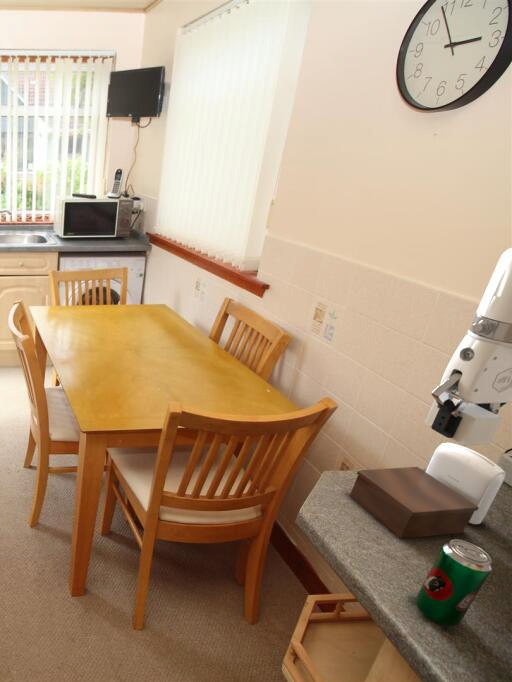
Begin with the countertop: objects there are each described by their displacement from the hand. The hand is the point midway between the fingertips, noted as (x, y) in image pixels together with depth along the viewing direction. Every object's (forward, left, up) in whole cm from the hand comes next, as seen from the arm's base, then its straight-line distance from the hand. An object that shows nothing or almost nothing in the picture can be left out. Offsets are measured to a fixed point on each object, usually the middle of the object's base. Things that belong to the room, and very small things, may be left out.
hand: (456, 431), depth 78 cm
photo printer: (-12, -4, -20) cm, 24 cm away
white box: (0, 0, 0) cm, 0 cm away
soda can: (+14, +16, -20) cm, 29 cm away
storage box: (-1, -3, -20) cm, 20 cm away
